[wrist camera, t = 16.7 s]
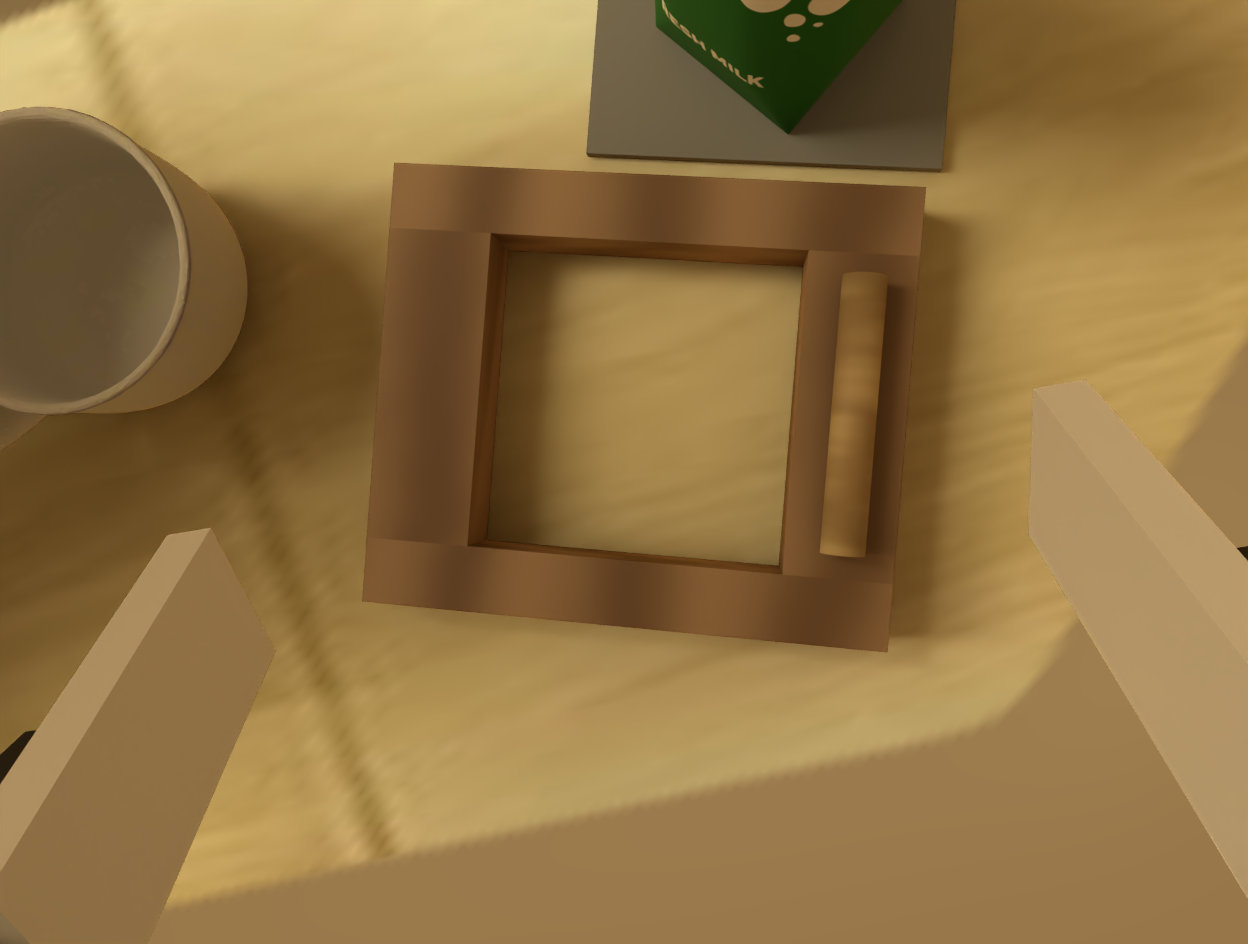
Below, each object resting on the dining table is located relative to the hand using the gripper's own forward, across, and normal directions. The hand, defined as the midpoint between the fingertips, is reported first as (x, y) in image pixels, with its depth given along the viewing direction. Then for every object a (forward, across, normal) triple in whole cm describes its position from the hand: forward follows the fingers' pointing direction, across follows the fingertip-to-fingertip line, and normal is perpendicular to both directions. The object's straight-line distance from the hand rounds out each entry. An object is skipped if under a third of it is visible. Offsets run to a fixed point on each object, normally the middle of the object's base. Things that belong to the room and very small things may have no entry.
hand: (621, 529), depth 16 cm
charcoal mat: (+30, +7, +3) cm, 31 cm away
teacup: (+26, -22, -4) cm, 34 cm away
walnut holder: (+22, -1, -10) cm, 24 cm away
